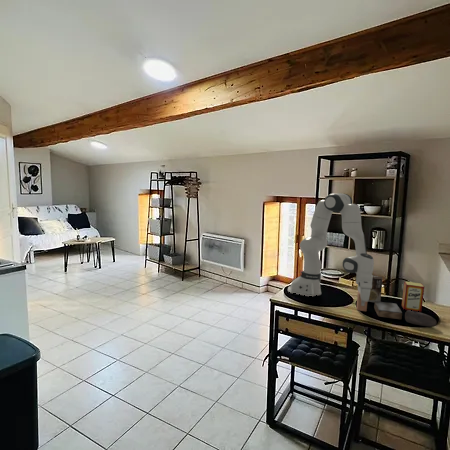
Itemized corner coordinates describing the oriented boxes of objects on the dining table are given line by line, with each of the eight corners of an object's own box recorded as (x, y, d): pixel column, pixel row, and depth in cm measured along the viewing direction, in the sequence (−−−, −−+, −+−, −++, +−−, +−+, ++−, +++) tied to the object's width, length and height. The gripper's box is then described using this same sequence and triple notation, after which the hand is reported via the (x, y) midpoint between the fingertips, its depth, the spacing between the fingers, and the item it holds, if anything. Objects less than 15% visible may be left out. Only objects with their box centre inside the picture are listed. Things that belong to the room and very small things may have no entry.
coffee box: (380, 300, 211) (383, 276, 208) (380, 303, 205) (382, 279, 203) (365, 297, 215) (367, 274, 213) (364, 300, 209) (366, 276, 207)
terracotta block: (357, 310, 193) (358, 294, 192) (356, 307, 198) (357, 291, 197) (366, 311, 192) (368, 295, 191) (365, 308, 197) (366, 292, 196)
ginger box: (418, 308, 200) (421, 283, 198) (421, 311, 194) (424, 286, 192) (401, 305, 203) (404, 280, 201) (403, 309, 197) (406, 284, 195)
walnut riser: (378, 316, 185) (378, 309, 185) (374, 307, 199) (374, 301, 198) (401, 319, 182) (402, 312, 182) (395, 310, 196) (396, 303, 195)
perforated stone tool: (435, 326, 175) (437, 314, 174) (436, 330, 170) (437, 317, 169) (403, 319, 182) (405, 308, 181) (403, 323, 177) (405, 311, 176)
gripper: (356, 275, 203) (354, 296, 205) (360, 285, 184) (358, 308, 186) (367, 276, 202) (365, 298, 204) (372, 287, 182) (370, 310, 184)
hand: (361, 303), depth 195 cm, fingers closed on terracotta block, 5 cm apart
